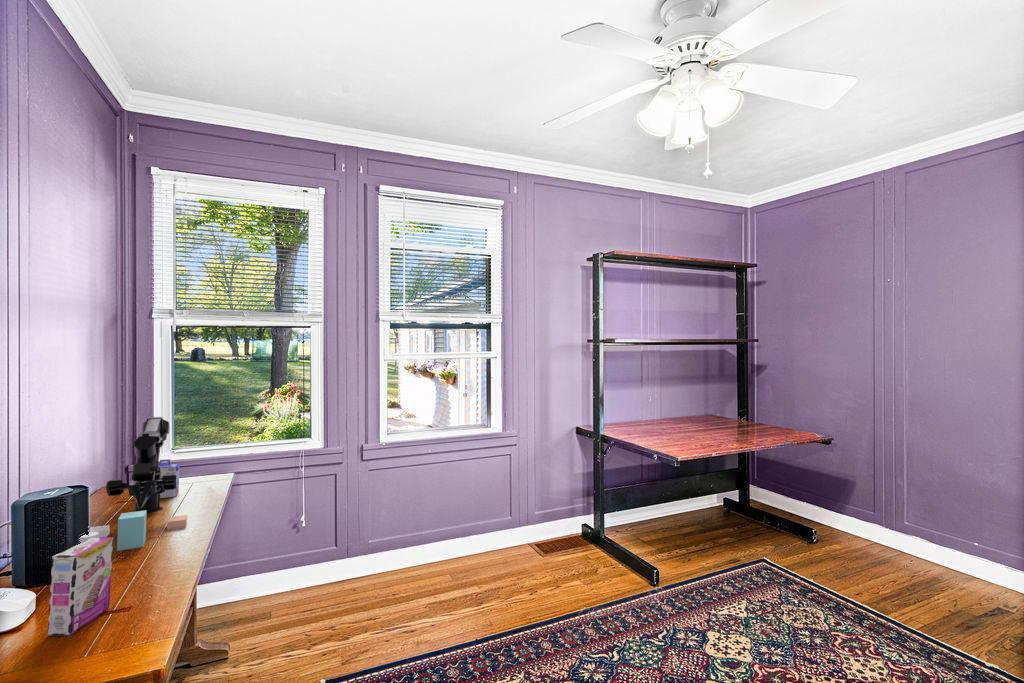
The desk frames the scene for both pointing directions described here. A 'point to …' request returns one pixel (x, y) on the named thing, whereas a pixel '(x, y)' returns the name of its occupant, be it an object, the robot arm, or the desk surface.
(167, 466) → the ink cartridge box
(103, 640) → the desk surface
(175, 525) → the terracotta block
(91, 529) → the pale grey block
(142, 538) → the teal upright rectangular block
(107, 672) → the desk surface
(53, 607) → the candy bar box
